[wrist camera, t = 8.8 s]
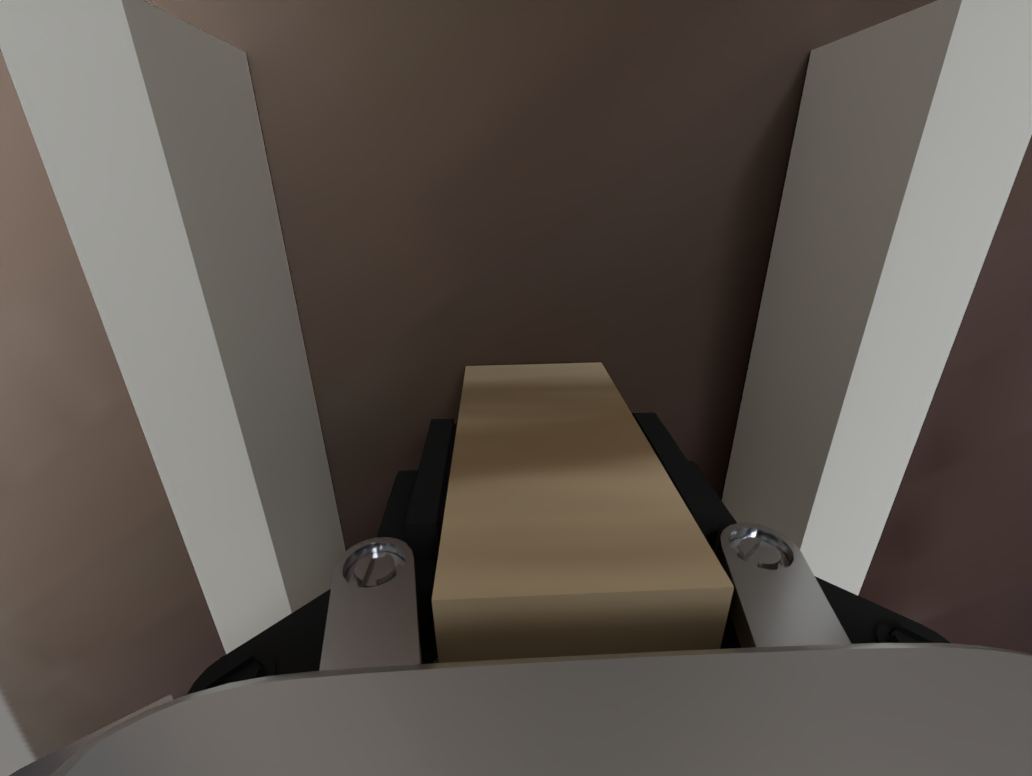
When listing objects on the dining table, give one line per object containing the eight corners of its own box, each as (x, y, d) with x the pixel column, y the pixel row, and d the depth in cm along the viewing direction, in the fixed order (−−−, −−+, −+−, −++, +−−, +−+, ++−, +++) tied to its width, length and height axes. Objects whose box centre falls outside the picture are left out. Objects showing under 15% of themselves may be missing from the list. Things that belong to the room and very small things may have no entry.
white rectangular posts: (154, 52, 11) (-23, -13, 7) (893, 50, 11) (1086, -11, 8) (316, 663, 19) (273, 780, 15) (741, 642, 19) (799, 751, 16)
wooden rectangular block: (465, 365, 14) (431, 600, 6) (601, 362, 14) (734, 587, 6) (482, 650, 19) (474, 983, 11) (583, 646, 19) (646, 971, 11)
